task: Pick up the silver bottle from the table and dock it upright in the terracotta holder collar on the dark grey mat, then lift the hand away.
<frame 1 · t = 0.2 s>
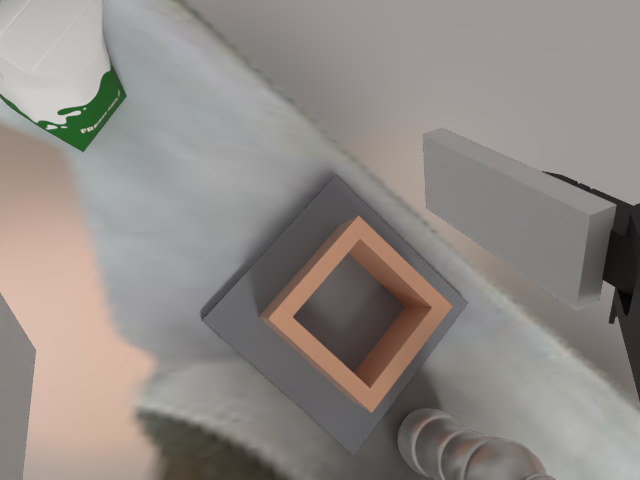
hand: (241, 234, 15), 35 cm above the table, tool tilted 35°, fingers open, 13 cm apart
silver bottle: (419, 435, 53), on the table
milk carton: (73, 103, 48), on the table
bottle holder: (341, 311, 52), on the table
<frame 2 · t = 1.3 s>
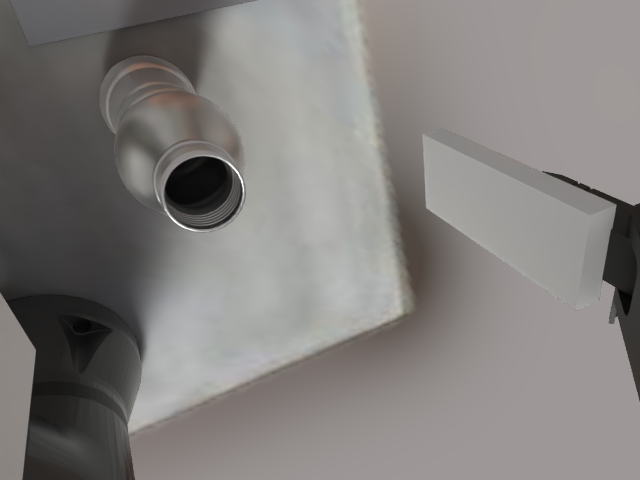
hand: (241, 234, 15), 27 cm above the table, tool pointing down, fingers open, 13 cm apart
silver bottle: (145, 97, 38), on the table
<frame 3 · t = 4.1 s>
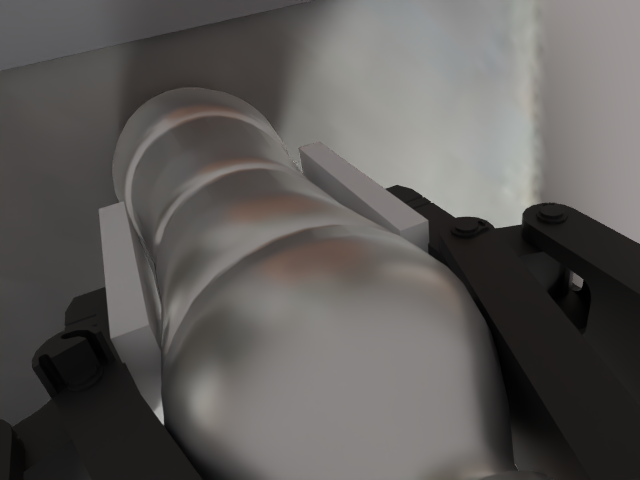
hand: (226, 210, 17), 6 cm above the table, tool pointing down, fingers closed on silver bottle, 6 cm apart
silver bottle: (192, 155, 22), on the table, touching gripper
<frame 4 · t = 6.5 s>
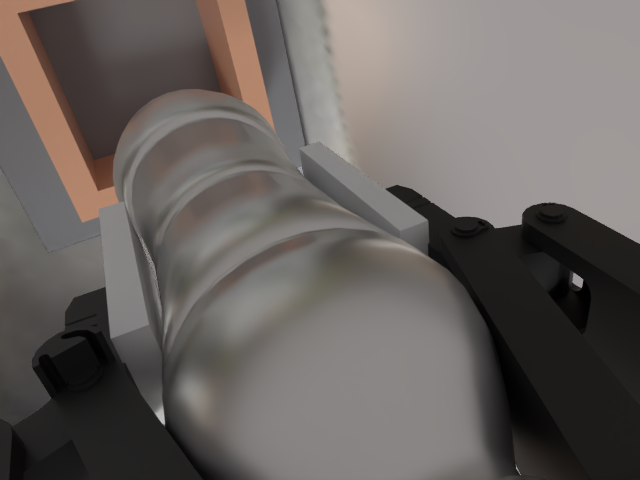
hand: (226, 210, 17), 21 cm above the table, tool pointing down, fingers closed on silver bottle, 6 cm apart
silver bottle: (192, 156, 22), point 15 cm above the table, touching gripper
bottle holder: (137, 67, 33), on the table
when the fingers open (9 cm above the table, at t = 9.3 s): silver bottle drops 2 cm, resting on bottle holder.
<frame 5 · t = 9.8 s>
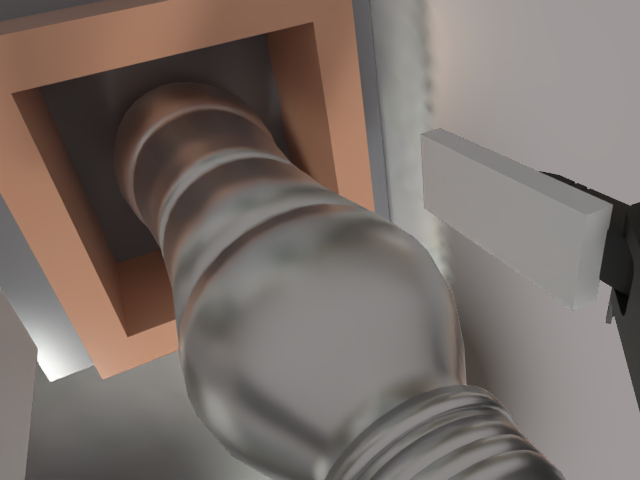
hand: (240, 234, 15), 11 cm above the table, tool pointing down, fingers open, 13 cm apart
silver bottle: (184, 144, 23), point 1 cm above the table, touching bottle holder
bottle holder: (181, 137, 24), on the table
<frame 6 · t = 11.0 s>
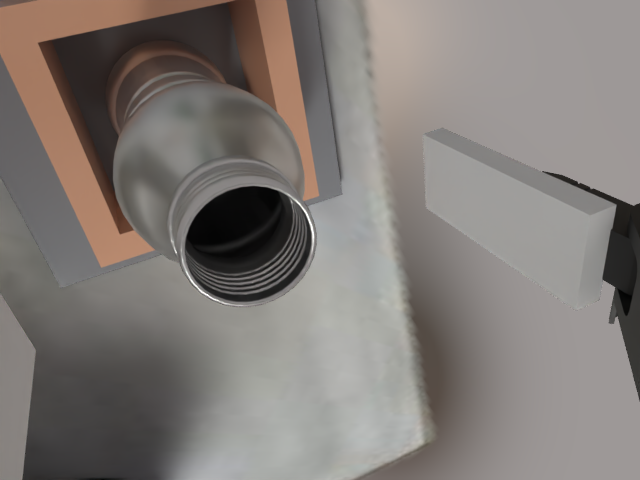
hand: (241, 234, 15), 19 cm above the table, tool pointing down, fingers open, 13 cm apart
silver bottle: (166, 96, 30), point 1 cm above the table, touching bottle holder
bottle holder: (164, 91, 30), on the table
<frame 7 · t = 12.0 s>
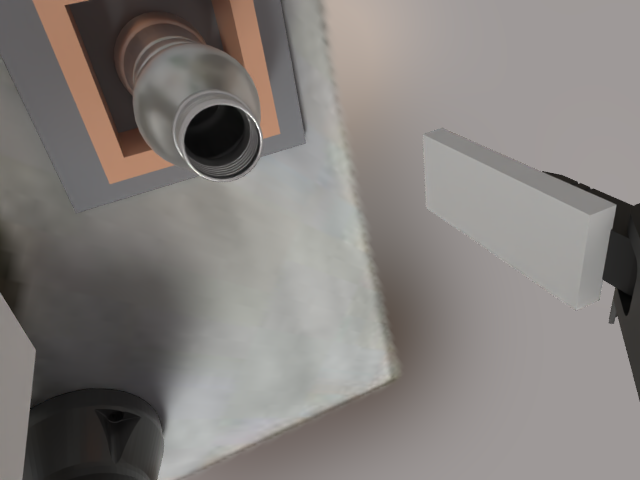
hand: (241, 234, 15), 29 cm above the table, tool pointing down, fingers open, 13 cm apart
silver bottle: (159, 55, 38), point 1 cm above the table, touching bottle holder
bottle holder: (158, 53, 38), on the table
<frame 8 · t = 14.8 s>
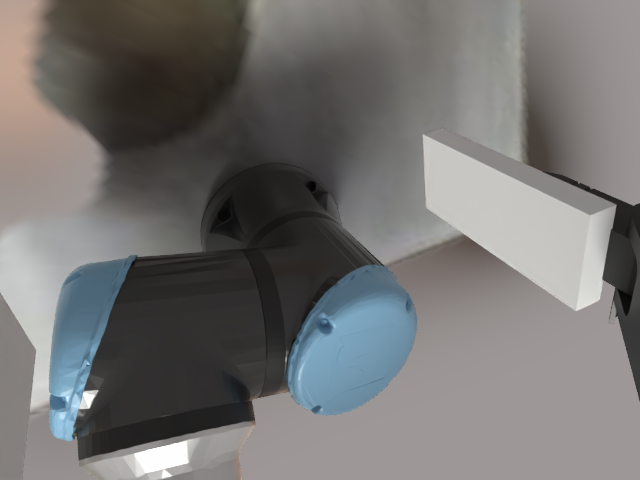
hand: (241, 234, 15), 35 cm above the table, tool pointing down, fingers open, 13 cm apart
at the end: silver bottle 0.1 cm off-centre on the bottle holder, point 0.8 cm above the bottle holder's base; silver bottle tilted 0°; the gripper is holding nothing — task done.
